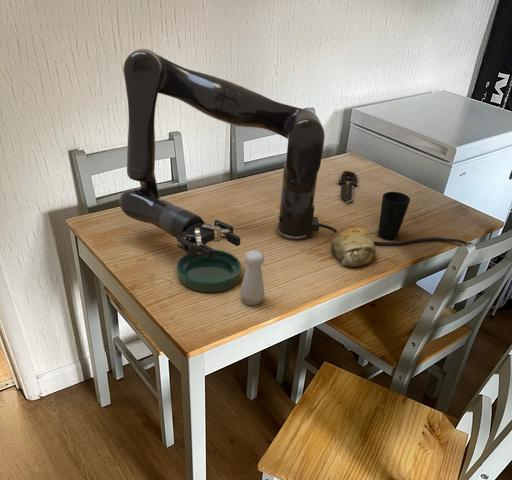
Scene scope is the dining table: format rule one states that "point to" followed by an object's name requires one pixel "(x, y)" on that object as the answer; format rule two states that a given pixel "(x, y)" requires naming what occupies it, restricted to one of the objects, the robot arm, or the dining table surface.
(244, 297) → the salt shaker
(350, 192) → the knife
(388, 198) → the cup
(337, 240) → the pastry
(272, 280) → the dining table surface
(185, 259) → the teal round dish
